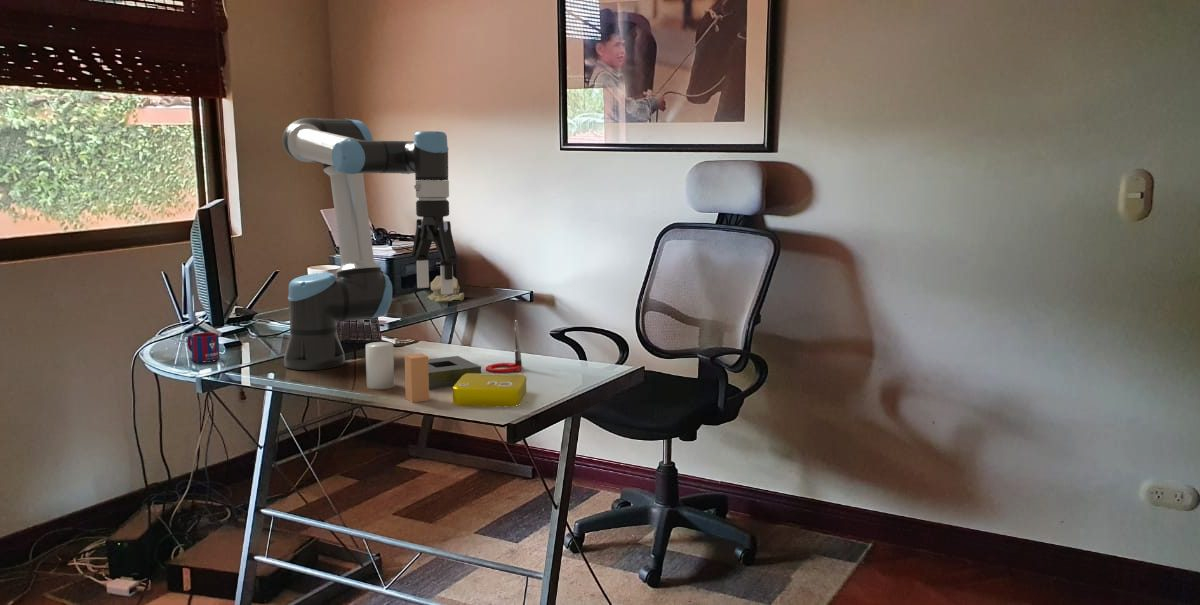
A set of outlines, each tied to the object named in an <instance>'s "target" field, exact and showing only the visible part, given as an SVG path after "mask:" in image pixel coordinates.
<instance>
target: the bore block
mask: <svg viewBox="0 0 1200 605" xmlns="http://www.w3.org/2000/svg"><path fill="white" fill-rule="evenodd" d="M428 368H429V390H435V389H444V388H453V386H454V385H455V384H456V383H457V382H458V380H459V379H460V378H461V377H462V376H463V375H464V374H466V373H482V366H480V365H479V364H476V363H475V362H473V361H471V360H468V359H465V358H463V357H461V356H458V355H453V356H452V355H451V356H447V357H446V356H445V357H438V358H437V357H435V358H428Z"/></svg>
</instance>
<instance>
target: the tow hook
mask: <svg viewBox="0 0 1200 605" xmlns="http://www.w3.org/2000/svg"><path fill="white" fill-rule="evenodd" d="M513 331H514V349H515V350H514V357H515V358H514V363H513V362H500V363H499V362H498V363H493V364H489V365H486V366H485V371H486V373H487V372H488V373H490V374H492V373H493V374H497V373H498V374H507V373H510V372H517V373H521V371H522V368H523V367H522V366H523V364H522V357H521V356H522V355H521V354H522V352H521V344H520V328H519V323H518V320H516V319H515V320H514V328H513ZM504 367H505V368H504Z"/></svg>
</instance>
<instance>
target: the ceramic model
mask: <svg viewBox="0 0 1200 605" xmlns="http://www.w3.org/2000/svg"><path fill="white" fill-rule="evenodd" d="M458 281H459V280H458V279H457V278H456V277H455V276H454V275H453V294H441V275H436V276H435V278H434V279H433V280H432V281H431V282H430V283H429V285H430V290H431V291H432V292H431V294H429V295H428V296H427V299H428V298H429V299H430V300H435V301H434V302H453V301H452V300H460V301H463V300H464V298H465V293H464V292H463V291H461V292H460V289H461V286H460V285H459V282H458ZM429 299H428V300H429ZM430 300H429V301H430Z"/></svg>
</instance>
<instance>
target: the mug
mask: <svg viewBox="0 0 1200 605" xmlns="http://www.w3.org/2000/svg"><path fill="white" fill-rule="evenodd" d="M219 340H220V338H219V333H217V332H209V331H207V332H197V333H193V334H189V335H188V336H187V341H186V342H187V347H188V350H189V351H190V352H191V359H192V360H193V361H199V362H198V363H204V362H203V361H213V360H217V361H219V360H220V359H219V358H221V357H220V356H221V355H220V341H219ZM218 359H219V360H218ZM192 360H191V361H192ZM193 361H192V362H193ZM213 362H214V361H213Z"/></svg>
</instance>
